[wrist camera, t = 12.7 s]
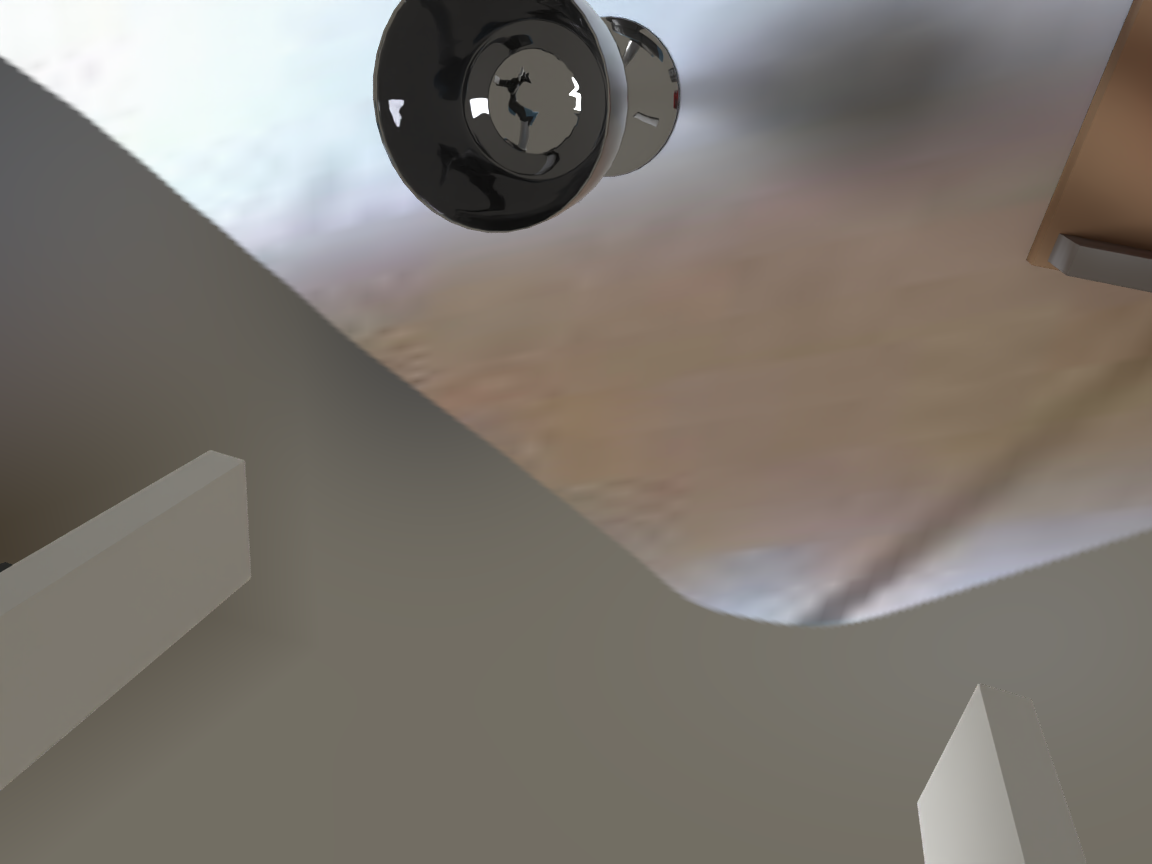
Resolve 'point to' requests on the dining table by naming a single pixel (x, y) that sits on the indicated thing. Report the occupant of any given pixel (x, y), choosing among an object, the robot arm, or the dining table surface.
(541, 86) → the wine glass
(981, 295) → the dining table surface
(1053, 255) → the holder
